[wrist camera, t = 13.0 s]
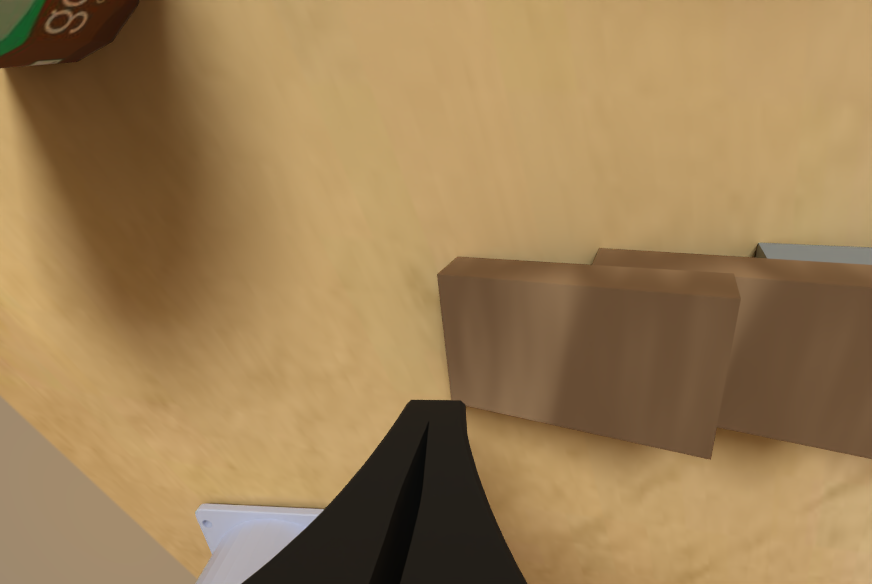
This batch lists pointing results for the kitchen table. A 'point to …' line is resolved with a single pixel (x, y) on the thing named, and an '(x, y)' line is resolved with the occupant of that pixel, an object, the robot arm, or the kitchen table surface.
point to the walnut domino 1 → (592, 346)
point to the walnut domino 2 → (790, 346)
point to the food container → (58, 29)
